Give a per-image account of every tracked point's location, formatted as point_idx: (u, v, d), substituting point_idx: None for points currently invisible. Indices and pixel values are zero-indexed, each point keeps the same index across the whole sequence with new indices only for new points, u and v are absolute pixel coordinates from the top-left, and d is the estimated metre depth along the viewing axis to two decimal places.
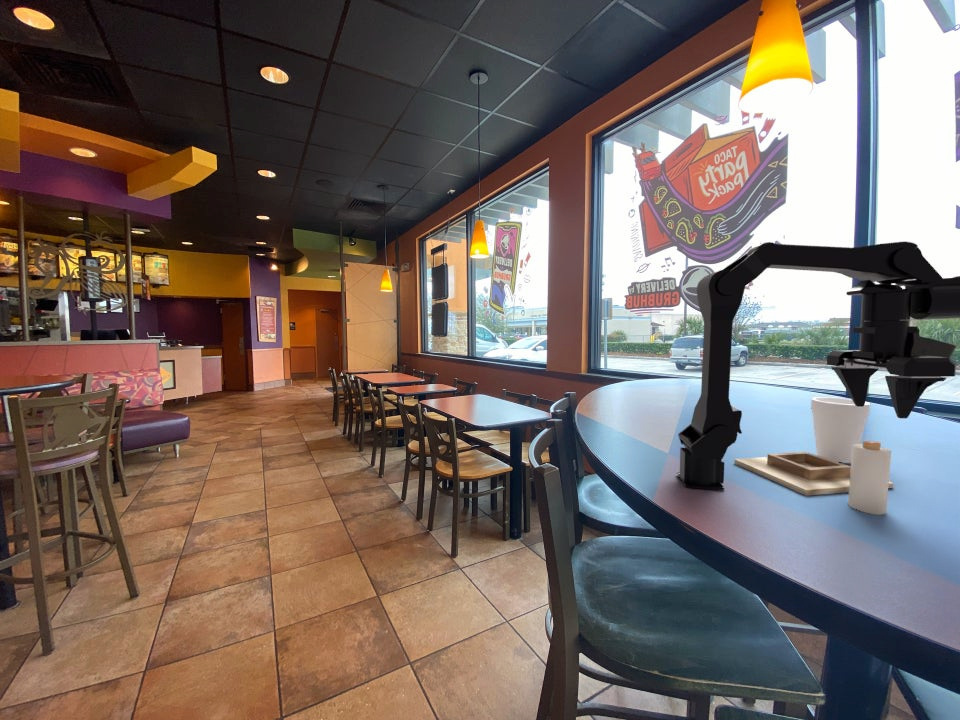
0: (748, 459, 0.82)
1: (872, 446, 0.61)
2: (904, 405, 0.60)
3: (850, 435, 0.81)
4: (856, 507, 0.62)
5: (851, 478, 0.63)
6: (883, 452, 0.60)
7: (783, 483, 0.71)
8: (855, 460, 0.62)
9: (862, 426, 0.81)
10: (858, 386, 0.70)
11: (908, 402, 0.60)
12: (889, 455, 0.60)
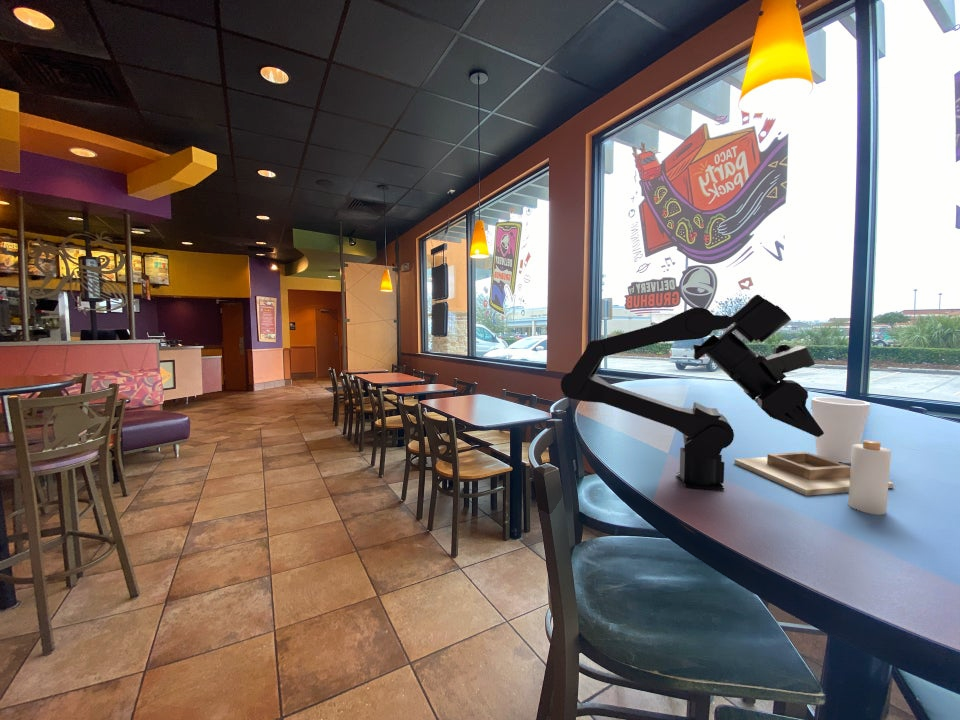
0: (748, 459, 0.82)
1: (872, 446, 0.61)
2: (808, 427, 0.61)
3: (850, 435, 0.81)
4: (856, 507, 0.62)
5: (851, 478, 0.63)
6: (883, 452, 0.60)
7: (783, 483, 0.71)
8: (855, 460, 0.62)
9: (862, 426, 0.81)
10: None
11: (807, 423, 0.61)
12: (889, 455, 0.60)
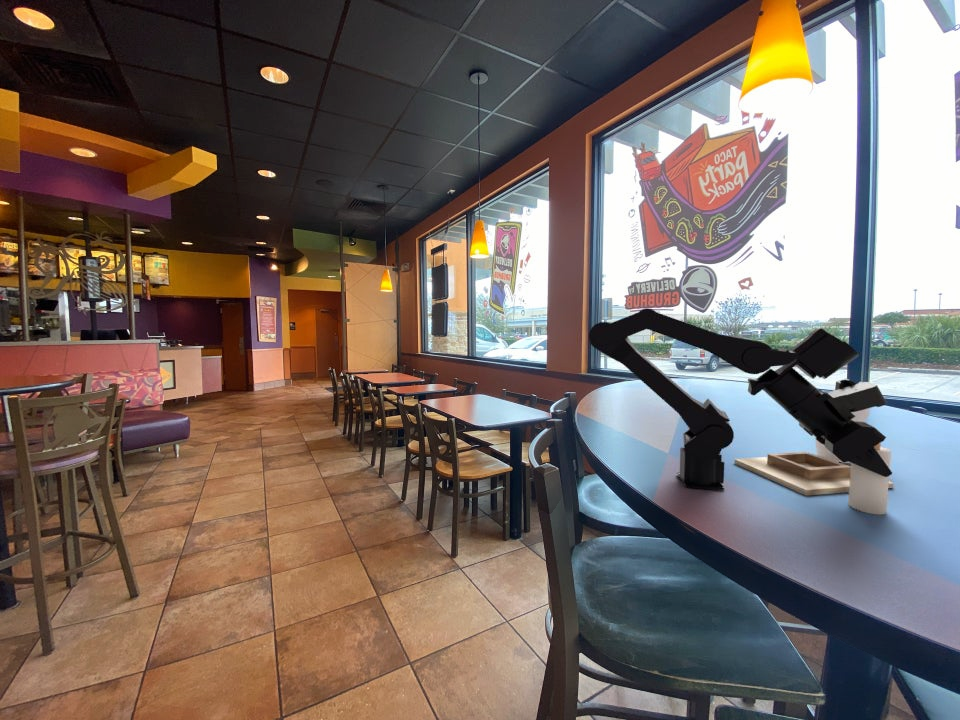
0: (748, 459, 0.82)
1: None
2: (875, 467, 0.59)
3: None
4: (856, 507, 0.62)
5: (852, 478, 0.63)
6: (883, 452, 0.60)
7: (783, 483, 0.71)
8: None
9: None
10: None
11: (875, 463, 0.59)
12: (889, 455, 0.59)
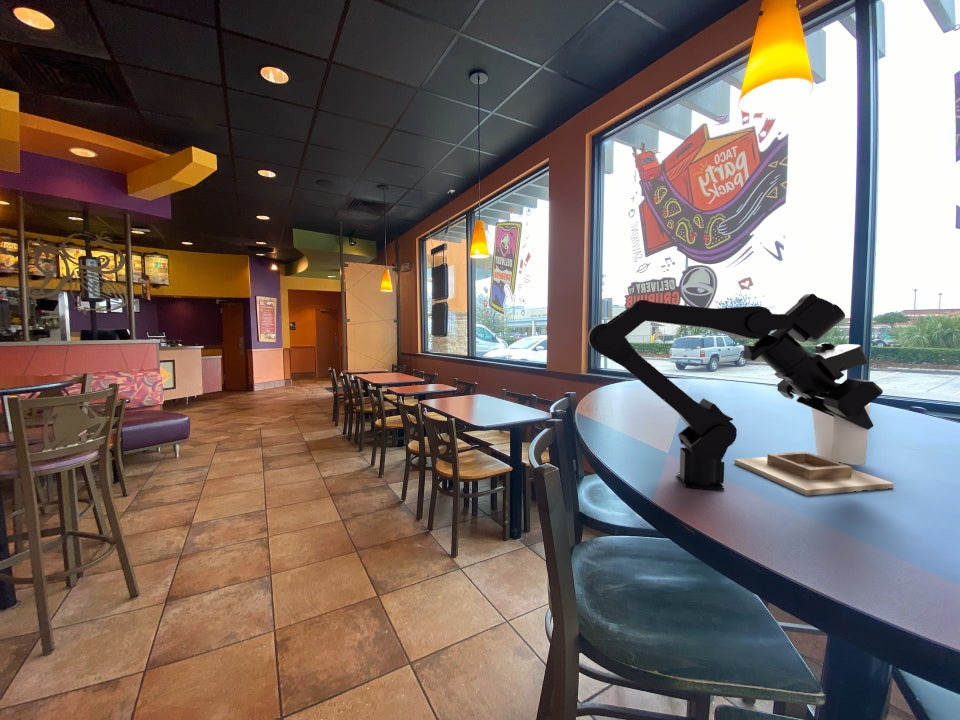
0: (748, 459, 0.82)
1: None
2: (861, 420, 0.64)
3: None
4: (842, 460, 0.66)
5: (836, 434, 0.67)
6: (865, 407, 0.65)
7: (783, 483, 0.71)
8: None
9: None
10: None
11: (861, 417, 0.64)
12: (869, 409, 0.65)
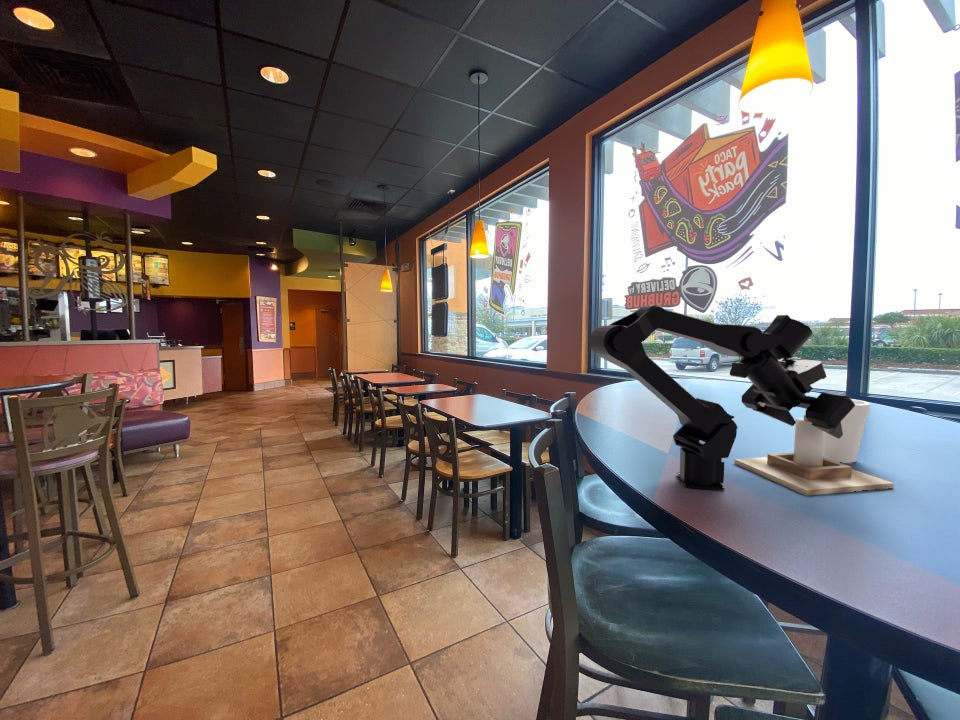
0: (748, 459, 0.82)
1: None
2: (836, 431, 0.70)
3: (850, 435, 0.81)
4: None
5: (800, 448, 0.75)
6: None
7: (783, 483, 0.71)
8: (804, 432, 0.74)
9: (862, 426, 0.81)
10: (781, 413, 0.80)
11: (837, 428, 0.70)
12: None
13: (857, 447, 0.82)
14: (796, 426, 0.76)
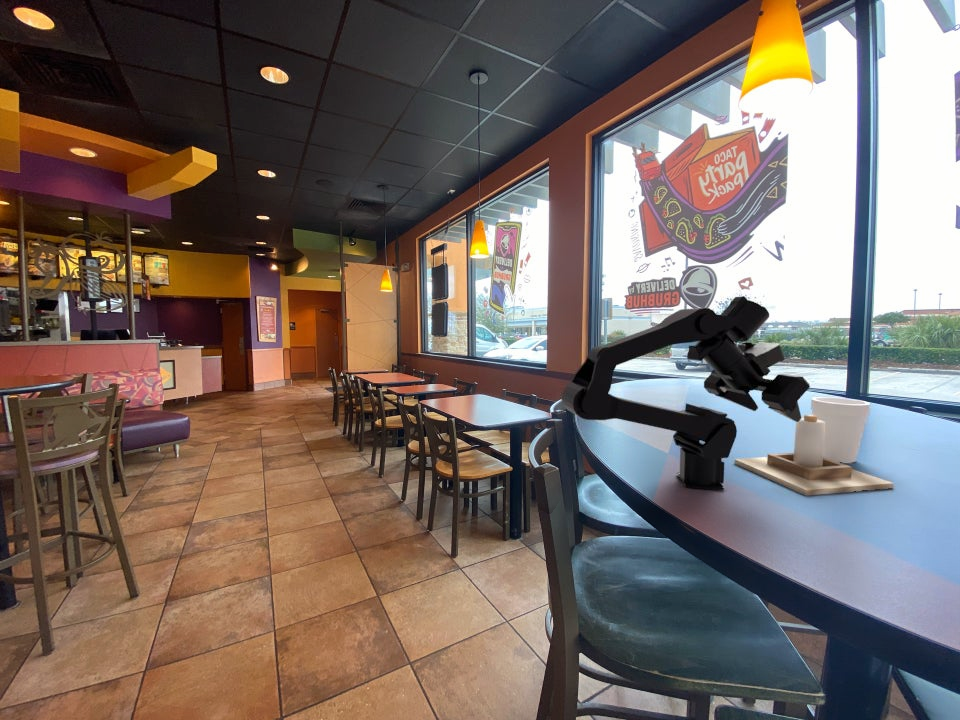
0: (748, 459, 0.82)
1: (814, 419, 0.74)
2: (794, 414, 0.68)
3: (850, 435, 0.81)
4: None
5: (800, 448, 0.75)
6: (823, 423, 0.74)
7: (783, 483, 0.71)
8: (804, 432, 0.74)
9: (862, 426, 0.81)
10: (743, 398, 0.78)
11: (795, 411, 0.68)
12: (824, 424, 0.74)
13: (857, 447, 0.82)
14: (796, 426, 0.76)
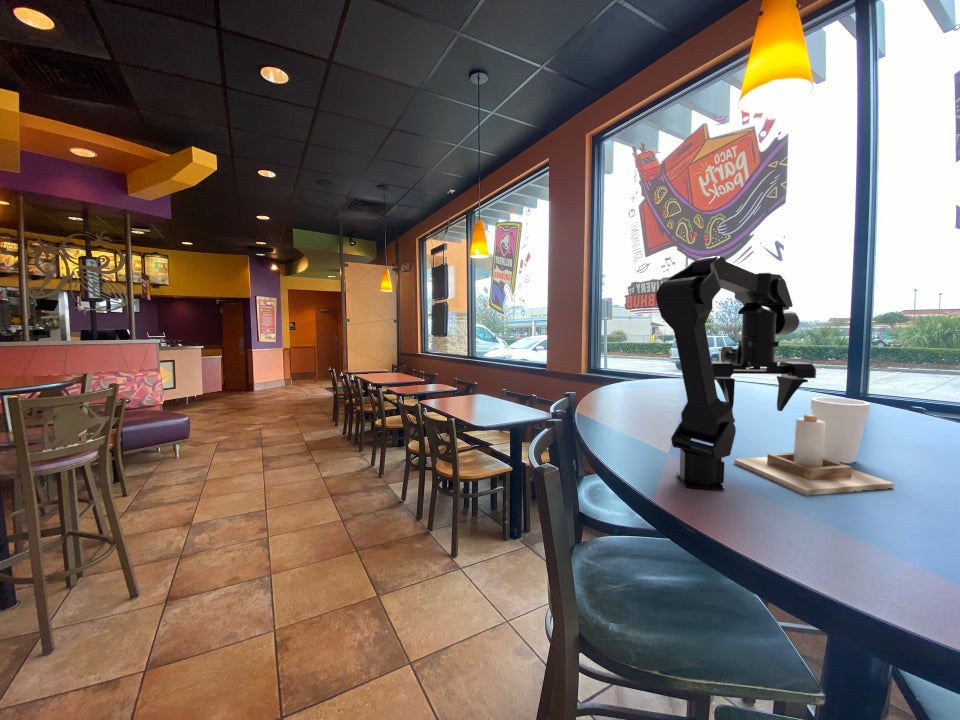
0: (748, 459, 0.82)
1: (814, 419, 0.74)
2: None
3: (850, 435, 0.81)
4: None
5: (800, 448, 0.75)
6: (823, 423, 0.74)
7: (783, 483, 0.71)
8: (804, 432, 0.74)
9: (862, 426, 0.81)
10: None
11: None
12: (824, 424, 0.74)
13: (857, 447, 0.82)
14: (796, 426, 0.76)
